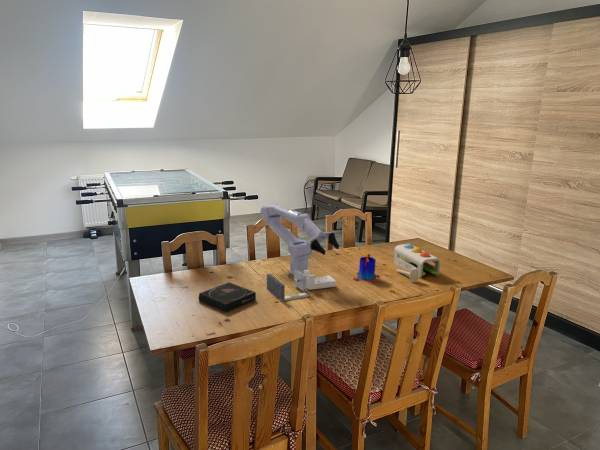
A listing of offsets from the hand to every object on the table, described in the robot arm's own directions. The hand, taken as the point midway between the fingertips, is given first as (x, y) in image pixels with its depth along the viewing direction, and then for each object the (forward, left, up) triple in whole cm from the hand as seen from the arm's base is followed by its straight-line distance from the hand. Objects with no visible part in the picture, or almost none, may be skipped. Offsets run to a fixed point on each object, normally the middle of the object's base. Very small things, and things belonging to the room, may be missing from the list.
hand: (331, 250), depth 203 cm
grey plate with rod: (-4, -20, -18) cm, 27 cm away
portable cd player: (-7, -46, -19) cm, 50 cm away
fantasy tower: (-4, +23, -18) cm, 29 cm away
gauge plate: (-2, -14, -17) cm, 22 cm away
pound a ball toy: (-2, +49, -18) cm, 52 cm away
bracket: (-4, -3, -18) cm, 19 cm away
